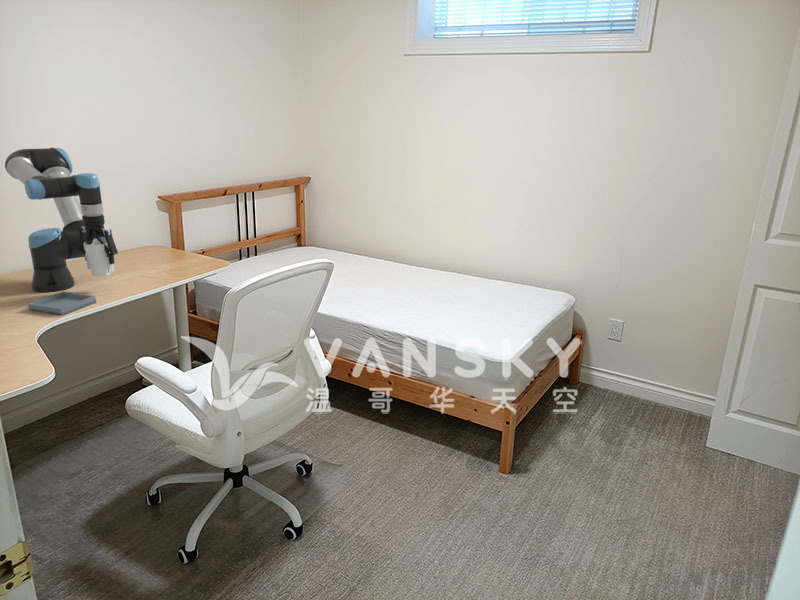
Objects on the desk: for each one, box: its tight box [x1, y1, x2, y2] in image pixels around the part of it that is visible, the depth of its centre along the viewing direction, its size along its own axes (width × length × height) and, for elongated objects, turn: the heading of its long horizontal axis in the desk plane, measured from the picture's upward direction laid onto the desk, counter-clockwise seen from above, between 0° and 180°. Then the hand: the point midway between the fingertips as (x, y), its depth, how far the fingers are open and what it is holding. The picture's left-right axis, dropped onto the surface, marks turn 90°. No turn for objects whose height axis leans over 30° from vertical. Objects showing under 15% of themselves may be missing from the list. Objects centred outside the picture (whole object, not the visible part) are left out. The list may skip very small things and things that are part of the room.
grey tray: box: [27, 290, 97, 317], centre depth 217 cm, size 16×16×3 cm
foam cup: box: [84, 240, 111, 277], centre depth 231 cm, size 10×9×13 cm
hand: (101, 270), depth 233 cm, fingers closed on foam cup, 9 cm apart
